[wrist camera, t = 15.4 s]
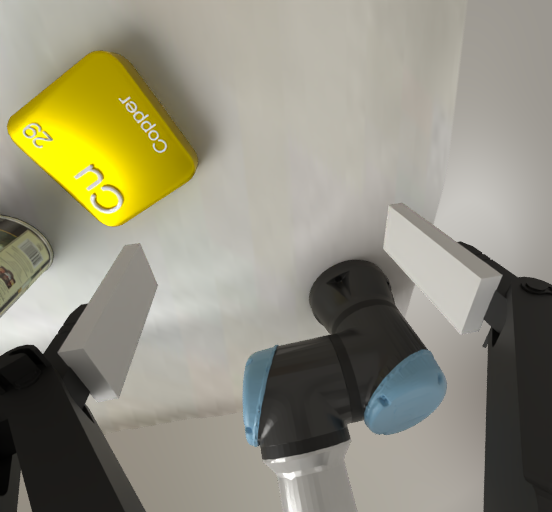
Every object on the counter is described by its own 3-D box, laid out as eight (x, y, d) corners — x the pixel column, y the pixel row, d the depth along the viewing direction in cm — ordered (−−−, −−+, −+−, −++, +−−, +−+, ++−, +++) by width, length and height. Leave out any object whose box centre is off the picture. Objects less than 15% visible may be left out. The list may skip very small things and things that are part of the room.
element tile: (204, 163, 38) (202, 173, 34) (120, 219, 41) (108, 234, 37) (118, 44, 31) (101, 39, 27) (20, 122, 33) (-8, 128, 29)
